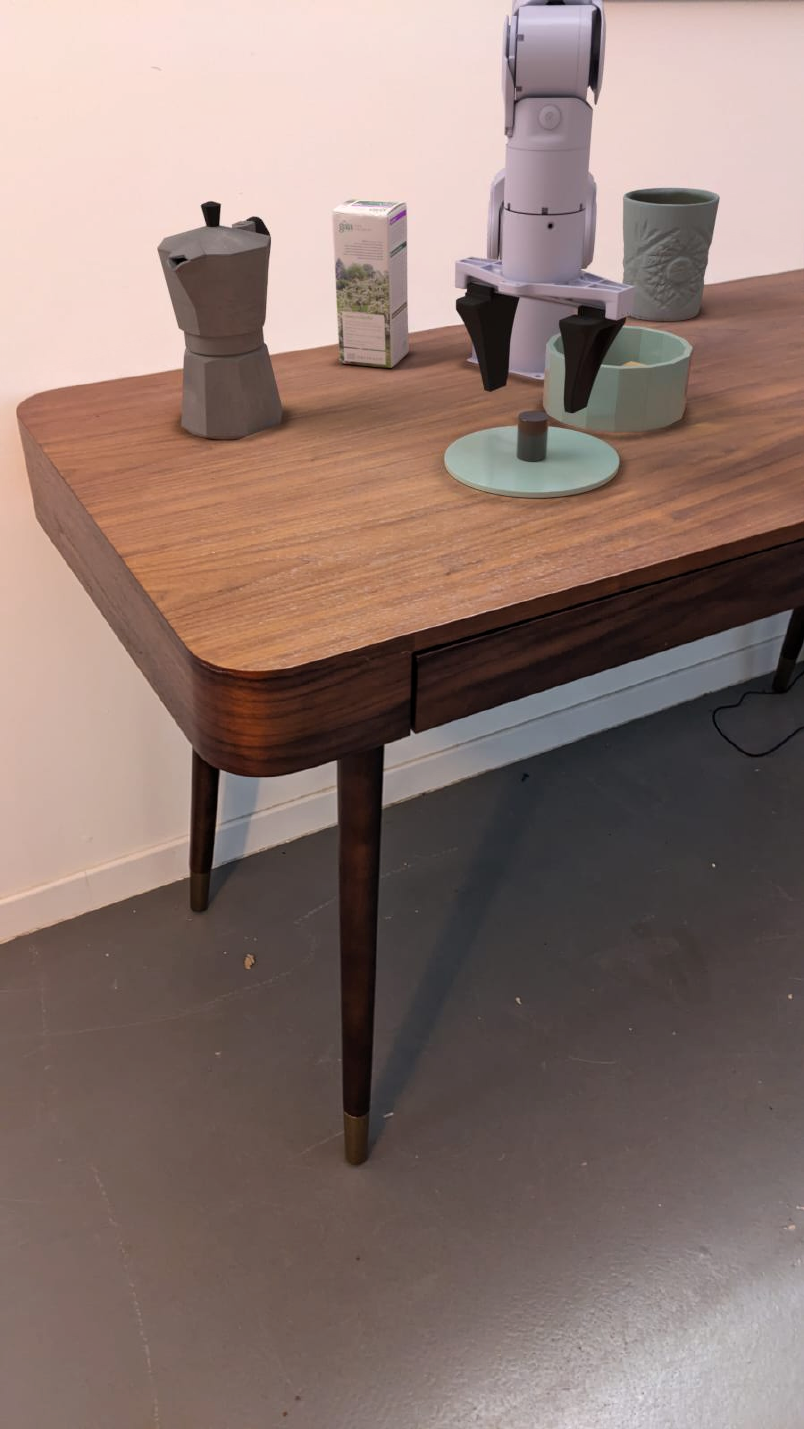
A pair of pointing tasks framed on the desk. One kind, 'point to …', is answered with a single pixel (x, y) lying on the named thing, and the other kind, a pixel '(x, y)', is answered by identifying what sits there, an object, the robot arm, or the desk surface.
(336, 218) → the syrup box
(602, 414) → the pot
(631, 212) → the drinking glass
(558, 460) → the lid
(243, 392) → the coffeepot
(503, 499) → the desk surface
